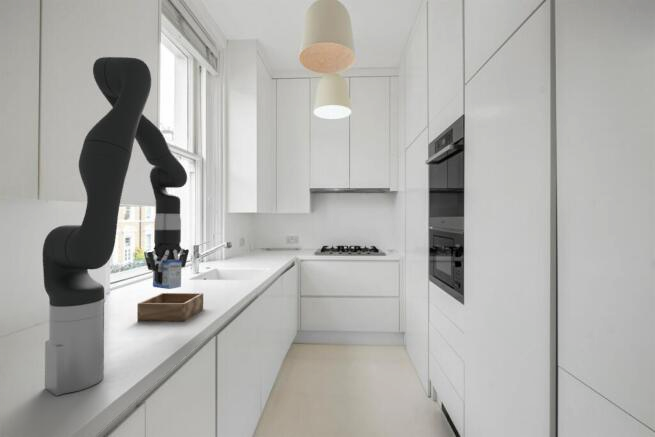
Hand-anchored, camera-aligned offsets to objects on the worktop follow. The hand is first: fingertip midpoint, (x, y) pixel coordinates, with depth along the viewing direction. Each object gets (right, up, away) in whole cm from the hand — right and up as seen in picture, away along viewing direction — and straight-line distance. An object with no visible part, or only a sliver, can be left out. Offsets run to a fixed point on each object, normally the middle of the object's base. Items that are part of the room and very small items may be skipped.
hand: (167, 282), depth 103 cm
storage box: (-6, -15, +16) cm, 22 cm away
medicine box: (0, -2, 0) cm, 2 cm away
